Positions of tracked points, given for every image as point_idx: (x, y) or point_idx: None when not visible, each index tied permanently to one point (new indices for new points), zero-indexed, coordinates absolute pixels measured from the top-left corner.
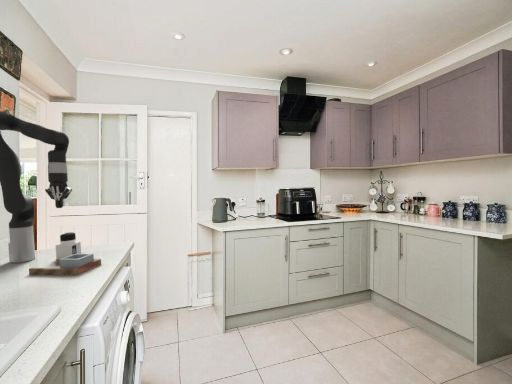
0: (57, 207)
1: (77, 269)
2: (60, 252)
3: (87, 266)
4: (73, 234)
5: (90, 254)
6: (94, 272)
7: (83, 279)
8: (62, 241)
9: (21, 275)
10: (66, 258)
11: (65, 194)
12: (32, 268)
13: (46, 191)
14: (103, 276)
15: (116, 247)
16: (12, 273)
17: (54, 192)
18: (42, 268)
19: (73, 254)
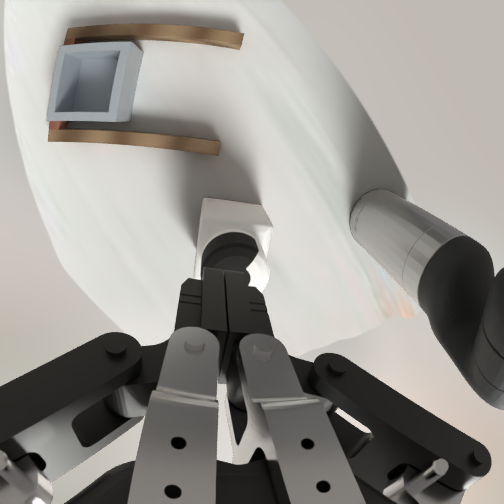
0: (224, 270)
1: (67, 33)
2: (245, 210)
3: None
4: (201, 271)
5: (50, 109)
6: (40, 62)
7: (46, 13)
8: (241, 232)
9: (264, 36)
10: (118, 65)
11: (15, 381)
12: (232, 35)
13: (463, 442)
14: (10, 42)
15: (138, 340)
16: (313, 65)
17: (286, 457)
18: (192, 31)
19: (115, 107)
